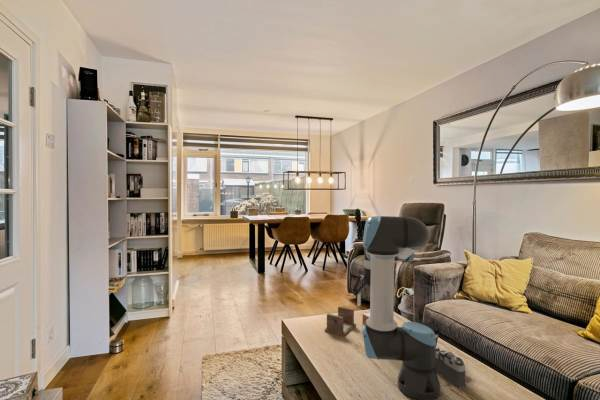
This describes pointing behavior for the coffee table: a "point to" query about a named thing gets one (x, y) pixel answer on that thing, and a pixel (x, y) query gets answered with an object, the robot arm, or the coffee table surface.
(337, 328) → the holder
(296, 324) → the coffee table surface
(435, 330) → the coffee cup
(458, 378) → the camera
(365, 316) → the small box
